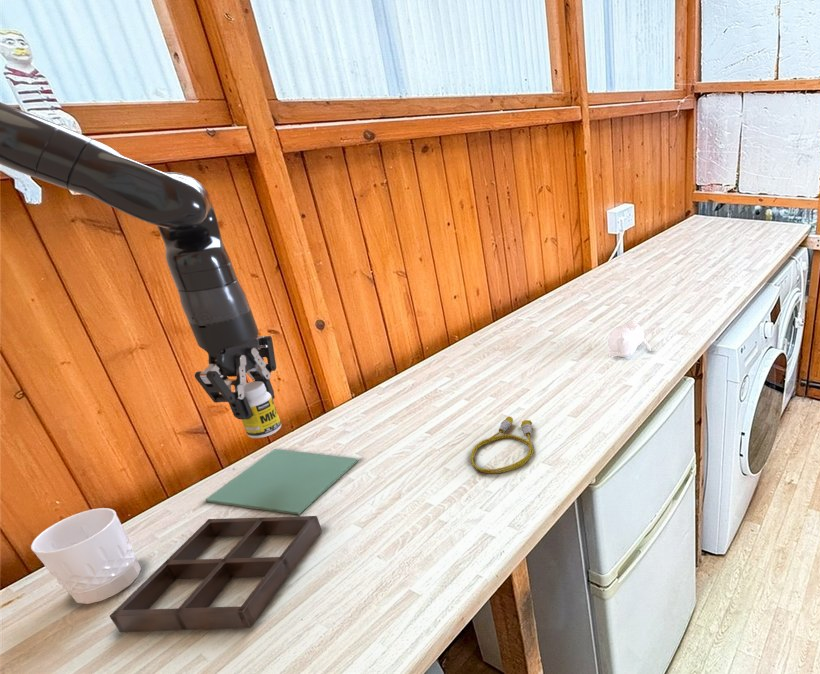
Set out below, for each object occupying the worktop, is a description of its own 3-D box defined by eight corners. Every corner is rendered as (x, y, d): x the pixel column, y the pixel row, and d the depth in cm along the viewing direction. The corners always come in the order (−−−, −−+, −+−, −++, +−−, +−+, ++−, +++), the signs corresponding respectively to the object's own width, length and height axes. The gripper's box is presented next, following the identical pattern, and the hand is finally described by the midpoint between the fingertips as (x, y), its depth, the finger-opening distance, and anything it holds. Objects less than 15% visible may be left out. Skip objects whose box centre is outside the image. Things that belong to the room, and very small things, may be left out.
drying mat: (206, 501, 87) (205, 499, 87) (275, 451, 99) (274, 448, 99) (298, 515, 84) (297, 512, 83) (358, 460, 96) (357, 458, 96)
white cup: (144, 551, 77) (115, 499, 73) (148, 583, 72) (116, 528, 68) (69, 583, 72) (33, 529, 68) (67, 619, 67) (28, 563, 63)
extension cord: (558, 436, 102) (557, 427, 101) (502, 483, 90) (500, 474, 89) (512, 420, 108) (510, 411, 107) (452, 462, 95) (450, 453, 94)
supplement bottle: (269, 439, 84) (252, 394, 81) (241, 439, 84) (222, 394, 81) (288, 422, 89) (273, 379, 85) (261, 422, 89) (245, 379, 85)
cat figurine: (632, 310, 137) (611, 325, 127) (663, 335, 136) (644, 352, 126) (617, 333, 142) (596, 349, 132) (647, 357, 141) (627, 375, 131)
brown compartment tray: (119, 632, 65) (108, 615, 64) (215, 533, 80) (208, 518, 79) (250, 628, 66) (242, 611, 64) (322, 530, 81) (316, 515, 79)
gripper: (228, 296, 84) (262, 387, 91) (153, 332, 71) (200, 435, 78) (275, 295, 84) (305, 386, 91) (208, 331, 71) (250, 433, 78)
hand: (256, 408), depth 85 cm, fingers closed on supplement bottle, 4 cm apart
